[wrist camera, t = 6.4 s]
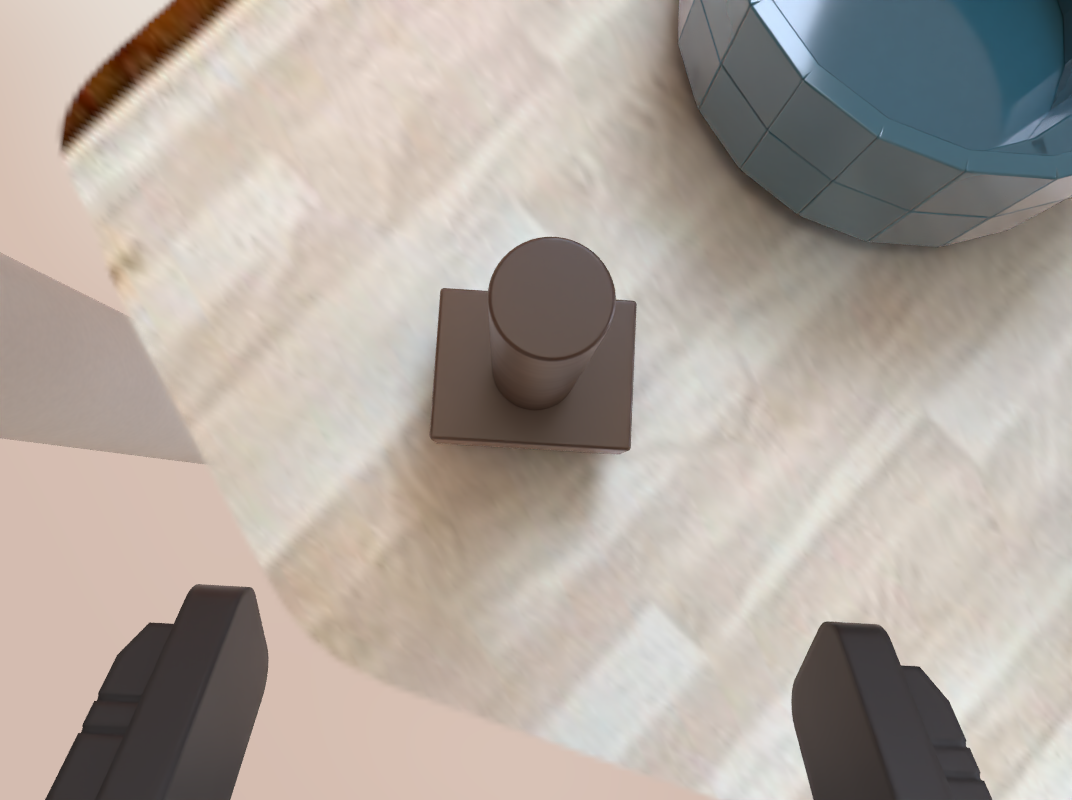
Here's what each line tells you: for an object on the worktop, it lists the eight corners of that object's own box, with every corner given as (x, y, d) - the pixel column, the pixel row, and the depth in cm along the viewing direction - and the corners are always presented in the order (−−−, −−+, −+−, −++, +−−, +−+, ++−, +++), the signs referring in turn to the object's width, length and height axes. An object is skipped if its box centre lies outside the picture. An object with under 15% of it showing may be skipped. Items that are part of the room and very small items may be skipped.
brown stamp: (439, 447, 23) (389, 404, 13) (448, 315, 24) (408, 174, 14) (613, 458, 24) (700, 423, 13) (619, 326, 24) (706, 196, 14)
